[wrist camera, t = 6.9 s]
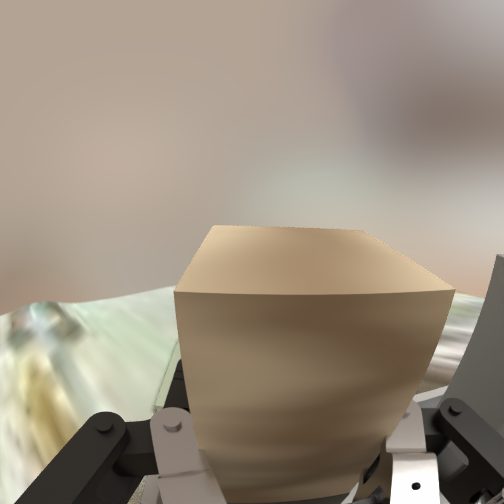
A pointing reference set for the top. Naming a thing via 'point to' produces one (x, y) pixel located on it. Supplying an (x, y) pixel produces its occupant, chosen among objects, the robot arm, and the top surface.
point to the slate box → (484, 361)
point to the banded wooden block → (301, 355)
